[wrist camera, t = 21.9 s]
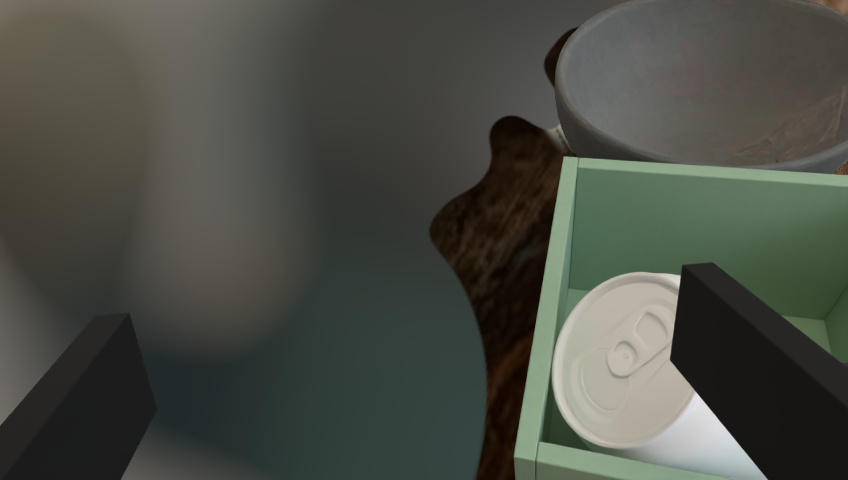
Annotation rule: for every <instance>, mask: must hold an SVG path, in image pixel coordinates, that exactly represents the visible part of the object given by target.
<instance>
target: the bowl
mask: <svg viewBox="0 0 848 480" xmlns="http://www.w3.org/2000/svg"><path fill="white" fill-rule="evenodd" d="M555 98H556V106H557V112H558V116H559V120H560V124H561V127H562V130H563V132H564V135H565V137H566V139H567V141H568V143H569V145H570V147H571V149H572V150H573V152H574V153H575V154H576V156H577V157H578V158H591V159H607V160H622V161H637V162H652V163H668V164H683V165H698V166H714V167H729V168H744V169H759V170H775V171H790V172H805V173H820V174H832V173H833V172H835V171H836V170H837V169H839V168H840V167H841V166H842V165H844V164H845V163H846V162H847V161H848V15H845V14H843V13H841V12H839V11H836V10H834V9H831V8H829V7H827V6H824V5H821V4H817V3H814V2H810V1H807V0H631V1H628V2H625V3H622V4H619V5H617V6H614V7H612V8H610V9H607V10H605V11H603V12H601V13H599V14H597V15H595V16H594V17H592V18H591V19H589V20H588V21H587V22H585V23H584V24H583V25H582V26H580V27H579V28H578V29H577V30H576V31H575V32H574V33H573V34H572V35H571V36H570V37H569V39H568V40H567V42H566V43H565V45H564V47H563V49H562V51H561V53H560V56H559V59H558V62H557V67H556V73H555Z"/></svg>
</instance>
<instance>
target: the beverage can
mask: <svg viewBox="0 0 848 480" xmlns="http://www.w3.org/2000/svg"><path fill="white" fill-rule="evenodd" d="M680 278H681V276H679V275H674V274H666V273H648V272H634V273H627V274H623V275H619V276H616V277H614V278H611V279H609V280H607V281H605V282H603V283H602V284H600V285H598V286H597V287H595V288H594V289H593V290H591V291H590V292H589V293H588V294H587V295H586V296H585V297H584V298H583V299H582V300H581V301H580V302H579V303H578V304H577V305H576V306H575V308H574V309H573V310H572V312H571V313H570V315H569V316H568V318H567V320H566V321H565V323H564V325H563V327H562V329H561V331H560V334H559V336H558V339H557V342H556V345H555V349H554V354H553V360H552V386H553V392H554V397H555V400H556V403H557V406H558V408H559V410H560V412H561V414H562V416H563V418H564V419H565V421H566V422H567V424H568V425H569V426H570V427H571V428H572V429H573V430H574V431H575V432H576V433H577V435H578V436H579V438H580V439H581V440H582V441H583V443H584V444H585V445H586V446H587V447H588V448H589V449H590V450H591V451H592V452H596V453H601V454H606V455H611V456H616V457H621V458H626V459H631V460H636V461H641V462H647V463H652V464H657V465H662V466H667V467H672V468H677V469H682V470H687V471H692V472H697V473H702V474H707V475H712V476H717V477H722V478H727V479H732V480H768V479H767V478H766V477H765V476H764V475H763V473H762V472H761V471H760V470H759V468H758V467H757V466H756V465H755V464H754V462H753V461H752V460H751V459H750V457H749V456H748V455H747V454H746V453H745V451H744V450H743V449H742V448H741V447H740V445H739V444H738V443H737V442H736V440H735V439H734V438H733V437H732V436H731V434H730V433H729V432H728V431H727V429H726V428H725V427H724V426H723V425H722V423H721V422H720V421H719V420H718V418H717V417H716V416H715V415H714V414H713V412H712V411H711V410H710V409H709V407H708V406H707V405H706V404H705V403H704V401H703V400H702V399H701V398H700V396H699V395H698V394H697V393H696V392H695V390H694V389H693V388H692V387H691V385H690V384H689V383H688V382H687V381H686V379H685V378H684V377H683V376H682V374H681V373H680V372H679V371H678V370H677V368H676V367H675V366H674V365H673V363H672V362H671V361H670V354H671V346H672V339H673V331H674V323H675V316H676V308H677V301H678V293H679V285H680Z"/></svg>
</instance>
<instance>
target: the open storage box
mask: <svg viewBox="0 0 848 480" xmlns="http://www.w3.org/2000/svg"><path fill="white" fill-rule="evenodd" d="M708 262H713V263H715V264H716V265H717V266H718V267H720V268H721V269H722V270H723V271H725V272H726V273H727V274H729V275H730V276H731V277H732V278H734V279H735V280H736V281H738V282H739V283H740V284H741V285H743V286H744V287H745V288H747V289H748V290H749V291H750V292H752V293H753V294H754V295H755V296H757V297H758V298H759V299H761V300H762V301H763V302H764V303H766V304H767V305H768V306H770V307H771V308H772V309H773V310H775V311H776V312H777V313H779V314H780V315H781V316H782V317H784V318H785V319H786V320H787V321H789V322H790V323H791V324H793V325H794V326H795V327H796V328H798V329H799V330H800V331H802V332H803V333H804V334H805V335H807V336H808V337H809V338H811V339H812V340H813V341H814V342H816V343H817V344H818V345H819V346H821V347H822V348H823V349H825V350H826V351H827V352H828V353H830V354H831V355H832V356H834V357H835V358H836V359H837V360H839V361H840V362H841V363H848V175H836V174H820V173H805V172H790V171H775V170H759V169H744V168H729V167H714V166H698V165H683V164H668V163H652V162H637V161H622V160H607V159H591V158H578V157H564V158H563V163H562V169H561V175H560V181H559V187H558V193H557V199H556V205H555V211H554V217H553V223H552V229H551V235H550V241H549V247H548V253H547V259H546V265H545V271H544V277H543V283H542V289H541V295H540V301H539V307H538V313H537V319H536V325H535V331H534V337H533V343H532V349H531V355H530V361H529V367H528V373H527V379H526V385H525V391H524V397H523V403H522V409H521V415H520V421H519V427H518V433H517V439H516V445H515V451H514V466H515V480H732V479H727V478H722V477H717V476H712V475H707V474H702V473H697V472H692V471H687V470H682V469H677V468H672V467H667V466H662V465H657V464H652V463H647V462H641V461H636V460H631V459H626V458H621V457H616V456H611V455H606V454H601V453H596V452H592V451H591V450H590V449H589V448H588V447H587V446H586V445H585V444H584V443H583V441H582V440H581V439H580V438H579V436H578V435H577V433H576V432H575V431H574V430H573V429H572V428H571V427H570V426H569V425H568V424H567V422H566V421H565V419H564V418H563V416H562V414H561V412H560V410H559V408H558V406H557V403H556V400H555V397H554V392H553V386H552V360H553V354H554V349H555V345H556V342H557V339H558V336H559V334H560V331H561V329H562V327H563V325H564V323H565V321H566V320H567V318H568V316H569V315H570V313H571V312H572V310H573V309H574V308H575V306H576V305H577V304H578V303H579V302H580V301H581V300H582V299H583V298H584V297H585V296H586V295H587V294H588V293H589V292H590V291H591V290H593V289H594V288H595V287H597V286H598V285H600V284H602V283H603V282H605V281H607V280H609V279H611V278H614V277H616V276H619V275H623V274H627V273H634V272H648V273H666V274H674V275H679V276H681V270H682V265H685V264H697V263H708Z"/></svg>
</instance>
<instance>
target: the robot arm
mask: <svg viewBox="0 0 848 480" xmlns="http://www.w3.org/2000/svg"><path fill="white" fill-rule="evenodd" d="M670 361H671V362H672V363H673V365H674V366H675V367H676V368H677V370H678V371H679V372H680V373H681V374H682V376H683V377H684V378H685V379H686V381H687V382H688V383H689V384H690V385H691V387H692V388H693V389H694V390H695V392H696V393H697V394H698V395H699V396H700V398H701V399H702V400H703V401H704V403H705V404H706V405H707V406H708V407H709V409H710V410H711V411H712V412H713V414H714V415H715V416H716V417H717V418H718V420H719V421H720V422H721V423H722V425H723V426H724V427H725V428H726V429H727V431H728V432H729V433H730V434H731V436H732V437H733V438H734V439H735V440H736V442H737V443H738V444H739V445H740V447H741V448H742V449H743V450H744V451H745V453H746V454H747V455H748V456H749V457H750V459H751V460H752V461H753V462H754V464H755V465H756V466H757V467H758V468H759V470H760V471H761V472H762V473H763V475H764V476H765V477H766V478H767V479H768V480H848V363H841V362H840V361H839V360H837V359H836V358H835V357H834V356H832V355H831V354H830V353H828V352H827V351H826V350H825V349H823V348H822V347H821V346H819V345H818V344H817V343H816V342H814V341H813V340H812V339H811V338H809V337H808V336H807V335H805V334H804V333H803V332H802V331H800V330H799V329H798V328H796V327H795V326H794V325H793V324H791V323H790V322H789V321H787V320H786V319H785V318H784V317H782V316H781V315H780V314H779V313H777V312H776V311H775V310H773V309H772V308H771V307H770V306H768V305H767V304H766V303H764V302H763V301H762V300H761V299H759V298H758V297H757V296H755V295H754V294H753V293H752V292H750V291H749V290H748V289H747V288H745V287H744V286H743V285H741V284H740V283H739V282H738V281H736V280H735V279H734V278H732V277H731V276H730V275H729V274H727V273H726V272H725V271H723V270H722V269H721V268H720V267H718V266H717V265H716V264H715V263H713V262H708V263H697V264H685V265H682V270H681V278H680V285H679V293H678V301H677V308H676V316H675V323H674V331H673V339H672V346H671V354H670ZM156 410H157V407H156V404H155V400H154V397H153V393H152V390H151V386H150V383H149V379H148V376H147V372H146V369H145V366H144V362H143V358H142V355H141V352H140V348H139V345H138V341H137V338H136V334H135V331H134V327H133V324H132V320H131V317H130V313H121V314H109V315H97V316H95V317H94V318H93V319H92V320H91V321H90V322H89V323H88V325H87V326H86V327H85V328H84V329H83V330H82V332H81V333H80V334H79V335H78V336H77V338H76V339H75V340H74V341H73V342H72V343H71V344H70V346H69V347H68V348H67V349H66V350H65V351H64V353H63V354H62V355H61V356H60V357H59V358H58V359H57V361H56V362H55V363H54V364H53V365H52V366H51V368H50V369H49V370H48V371H47V372H46V373H45V375H44V376H43V377H42V378H41V379H40V380H39V382H38V383H37V384H36V385H35V386H34V387H33V389H32V390H31V391H30V392H29V393H28V394H27V396H26V397H25V398H24V399H23V400H22V401H21V402H20V404H19V405H18V406H17V407H16V408H15V410H14V411H13V412H12V413H11V414H10V415H9V416H8V418H7V419H6V420H5V421H4V422H3V423H2V424H1V426H0V480H121V478H122V476H123V474H124V472H125V470H126V468H127V466H128V464H129V463H130V460H131V459H132V457H133V455H134V453H135V451H136V449H137V447H138V445H139V443H140V441H141V439H142V437H143V435H144V433H145V432H146V430H147V428H148V426H149V424H150V422H151V420H152V418H153V416H154V414H155V412H156Z"/></svg>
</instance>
